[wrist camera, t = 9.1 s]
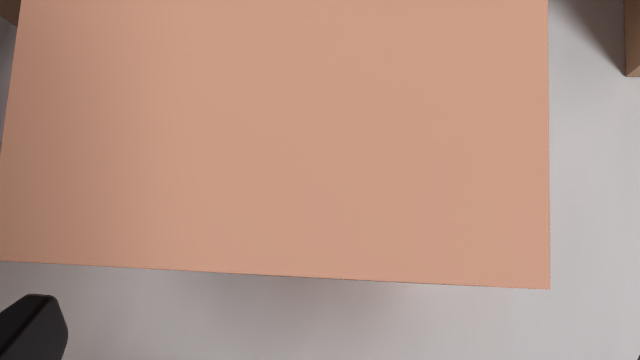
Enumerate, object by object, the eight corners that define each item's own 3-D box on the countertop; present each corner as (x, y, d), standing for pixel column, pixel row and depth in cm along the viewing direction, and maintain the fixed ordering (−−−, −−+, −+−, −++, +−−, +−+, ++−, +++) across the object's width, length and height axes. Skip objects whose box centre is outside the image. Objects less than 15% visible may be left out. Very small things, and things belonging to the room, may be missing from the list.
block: (420, 283, 17) (550, 290, 5) (264, 275, 18) (-14, 260, 5) (424, 129, 18) (545, -237, 5) (274, 125, 18) (52, -223, 6)
